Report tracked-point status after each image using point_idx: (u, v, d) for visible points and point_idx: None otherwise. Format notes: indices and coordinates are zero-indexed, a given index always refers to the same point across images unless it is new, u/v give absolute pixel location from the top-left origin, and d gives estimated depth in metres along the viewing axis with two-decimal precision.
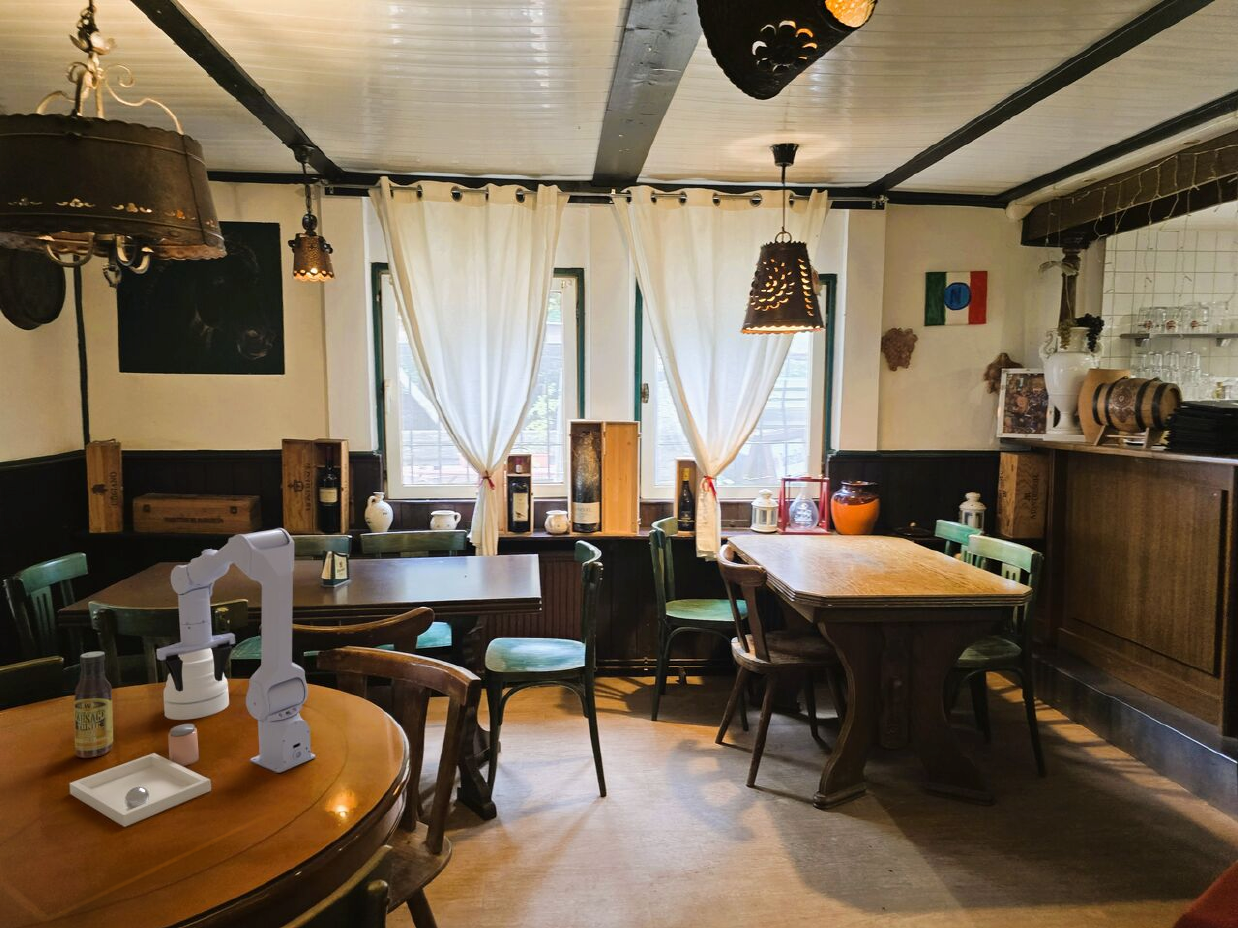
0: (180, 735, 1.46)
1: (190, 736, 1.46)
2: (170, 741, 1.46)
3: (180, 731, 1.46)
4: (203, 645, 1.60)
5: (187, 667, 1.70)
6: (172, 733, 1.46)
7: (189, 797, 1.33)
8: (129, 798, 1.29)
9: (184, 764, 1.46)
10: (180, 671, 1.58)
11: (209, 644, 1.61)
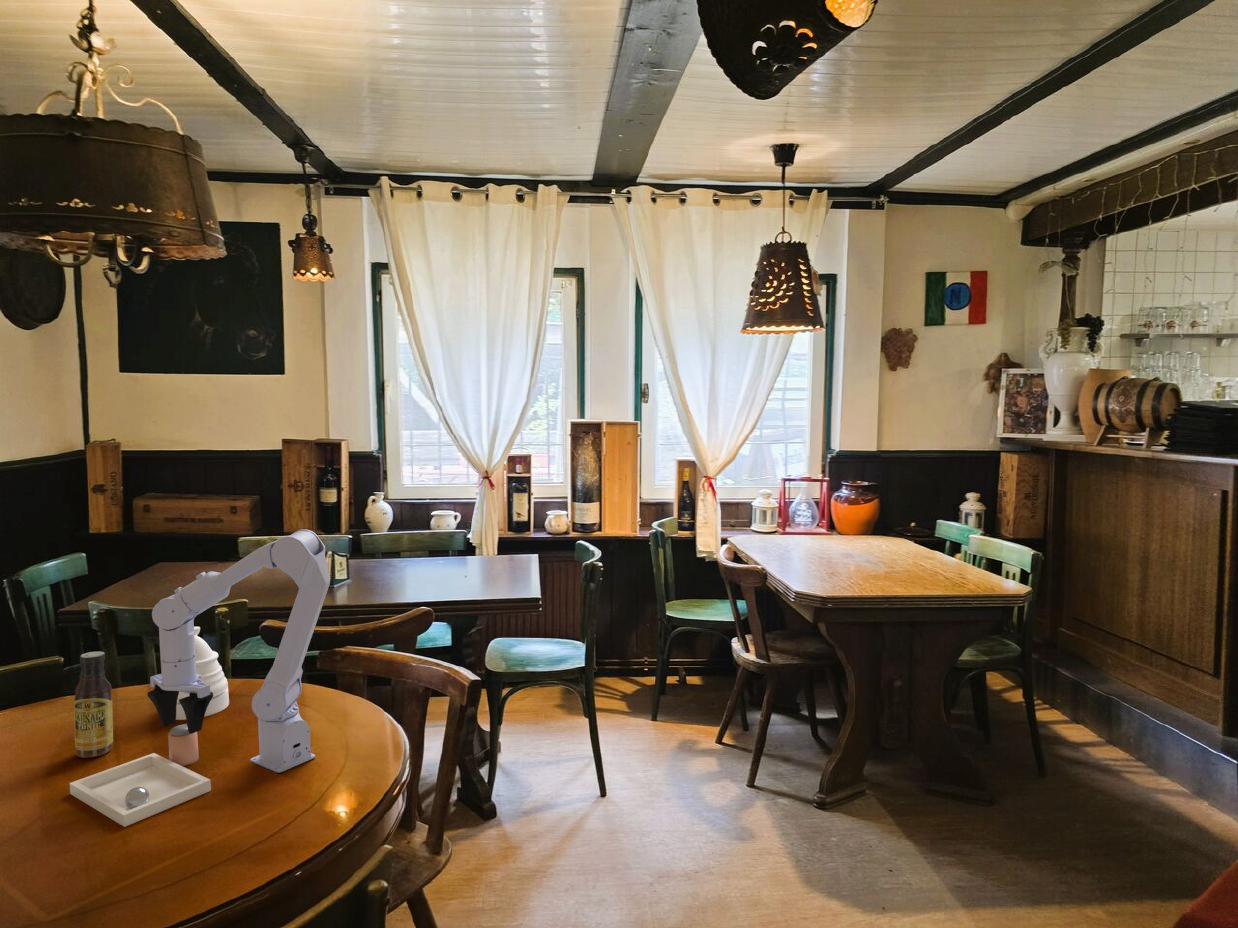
0: (180, 735, 1.46)
1: (190, 736, 1.46)
2: (170, 741, 1.46)
3: (180, 731, 1.46)
4: (164, 687, 1.44)
5: None
6: (172, 733, 1.46)
7: (189, 797, 1.33)
8: (129, 798, 1.29)
9: (184, 764, 1.46)
10: (157, 705, 1.47)
11: (171, 688, 1.44)
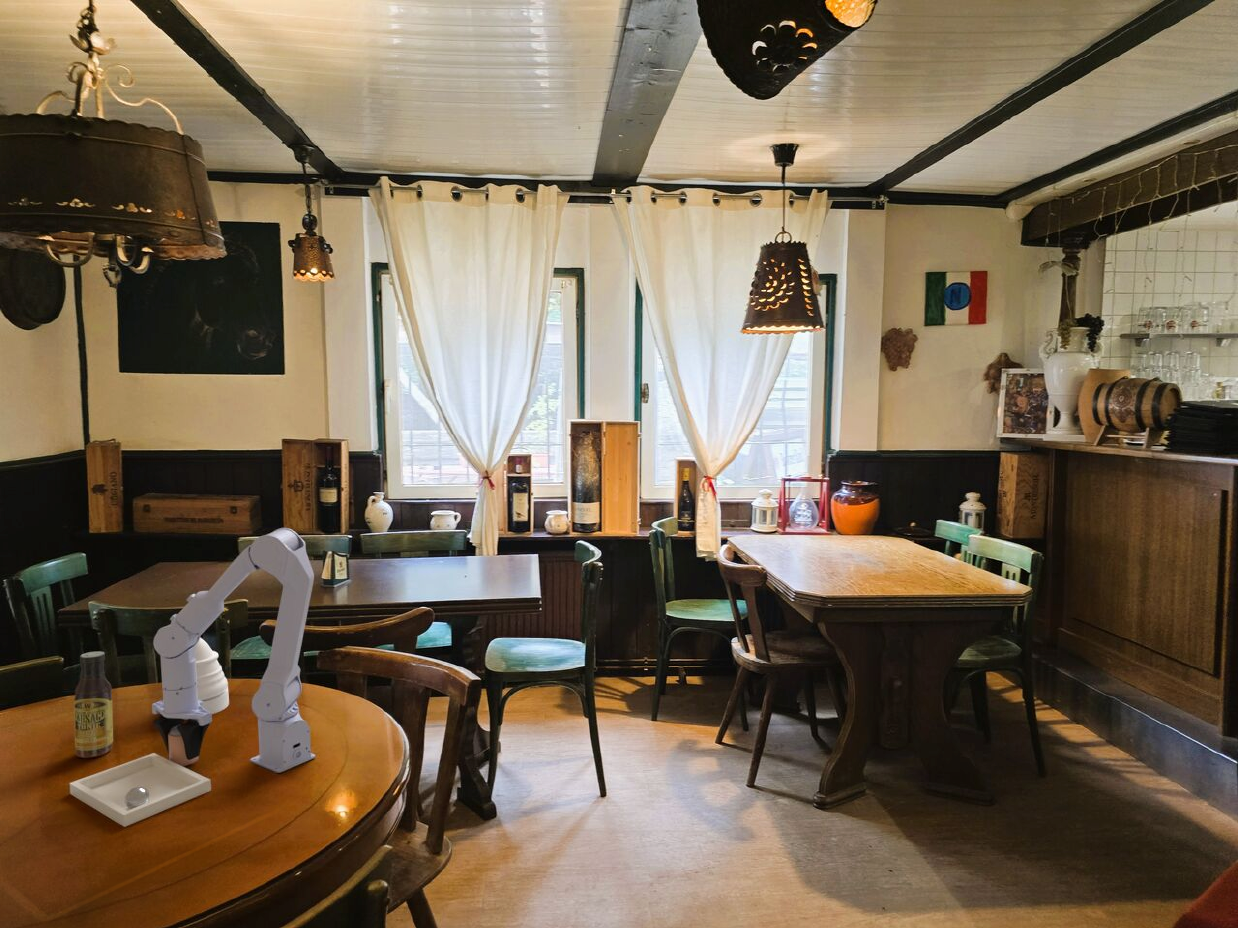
0: (180, 735, 1.46)
1: None
2: (170, 741, 1.46)
3: None
4: (166, 715, 1.44)
5: None
6: (172, 733, 1.46)
7: (189, 797, 1.33)
8: (129, 798, 1.29)
9: (184, 764, 1.46)
10: (163, 733, 1.47)
11: (172, 716, 1.44)
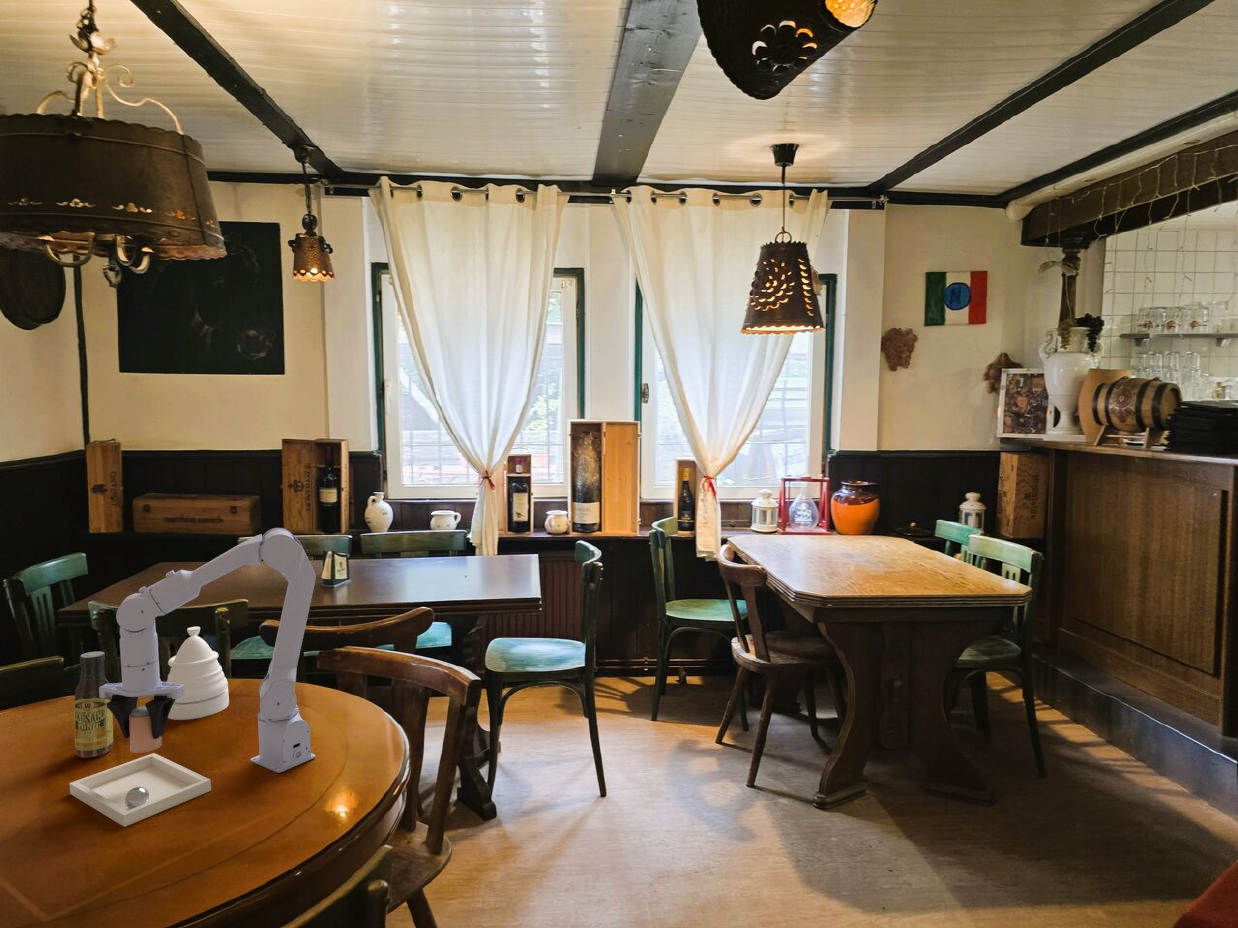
0: (146, 715, 1.38)
1: None
2: (134, 723, 1.37)
3: (145, 711, 1.38)
4: (130, 693, 1.35)
5: (187, 667, 1.70)
6: (136, 714, 1.37)
7: (189, 797, 1.33)
8: (129, 798, 1.29)
9: (151, 746, 1.38)
10: (120, 716, 1.37)
11: (139, 694, 1.36)
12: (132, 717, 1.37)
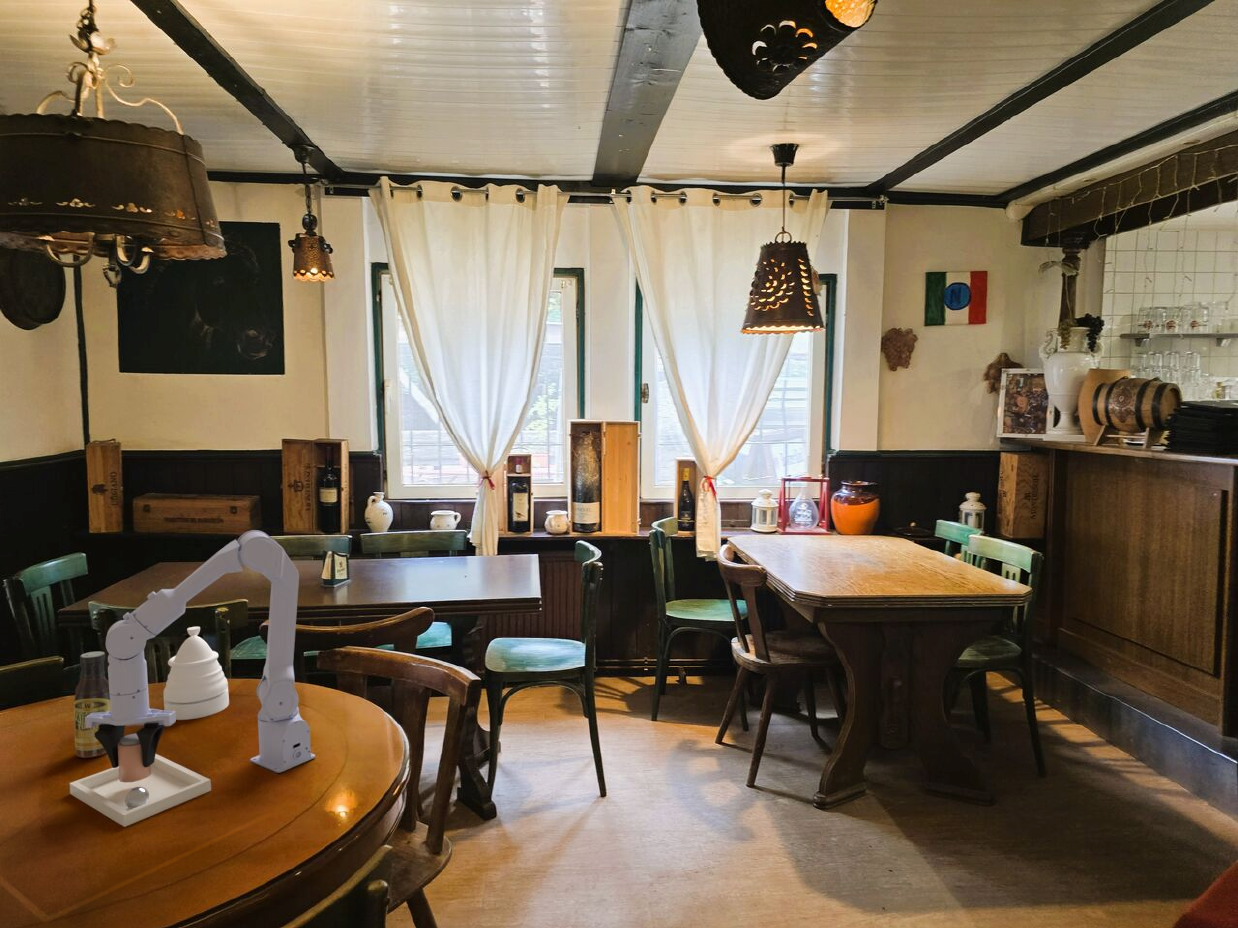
0: (136, 743, 1.35)
1: None
2: (124, 752, 1.35)
3: (135, 739, 1.36)
4: (121, 722, 1.33)
5: (187, 667, 1.70)
6: (126, 743, 1.35)
7: (189, 797, 1.33)
8: (129, 798, 1.29)
9: (141, 774, 1.36)
10: (108, 745, 1.35)
11: (129, 722, 1.33)
12: (121, 746, 1.35)
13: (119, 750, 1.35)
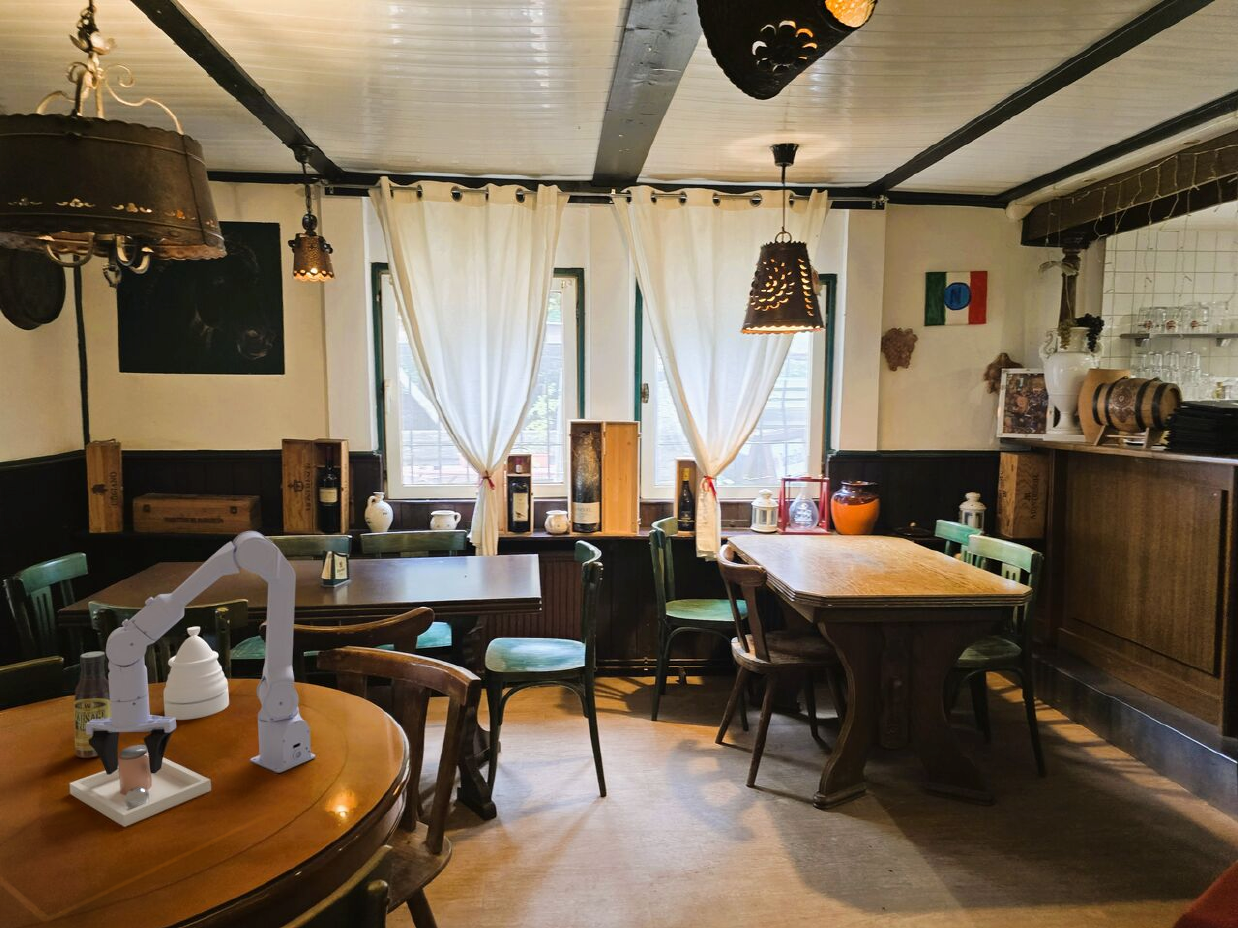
0: (136, 756, 1.35)
1: (147, 756, 1.37)
2: (124, 765, 1.35)
3: (135, 752, 1.36)
4: (121, 729, 1.33)
5: (187, 667, 1.70)
6: (126, 756, 1.35)
7: (189, 797, 1.33)
8: (129, 798, 1.29)
9: None
10: (102, 752, 1.35)
11: (130, 729, 1.34)
12: (121, 759, 1.35)
13: (119, 763, 1.35)
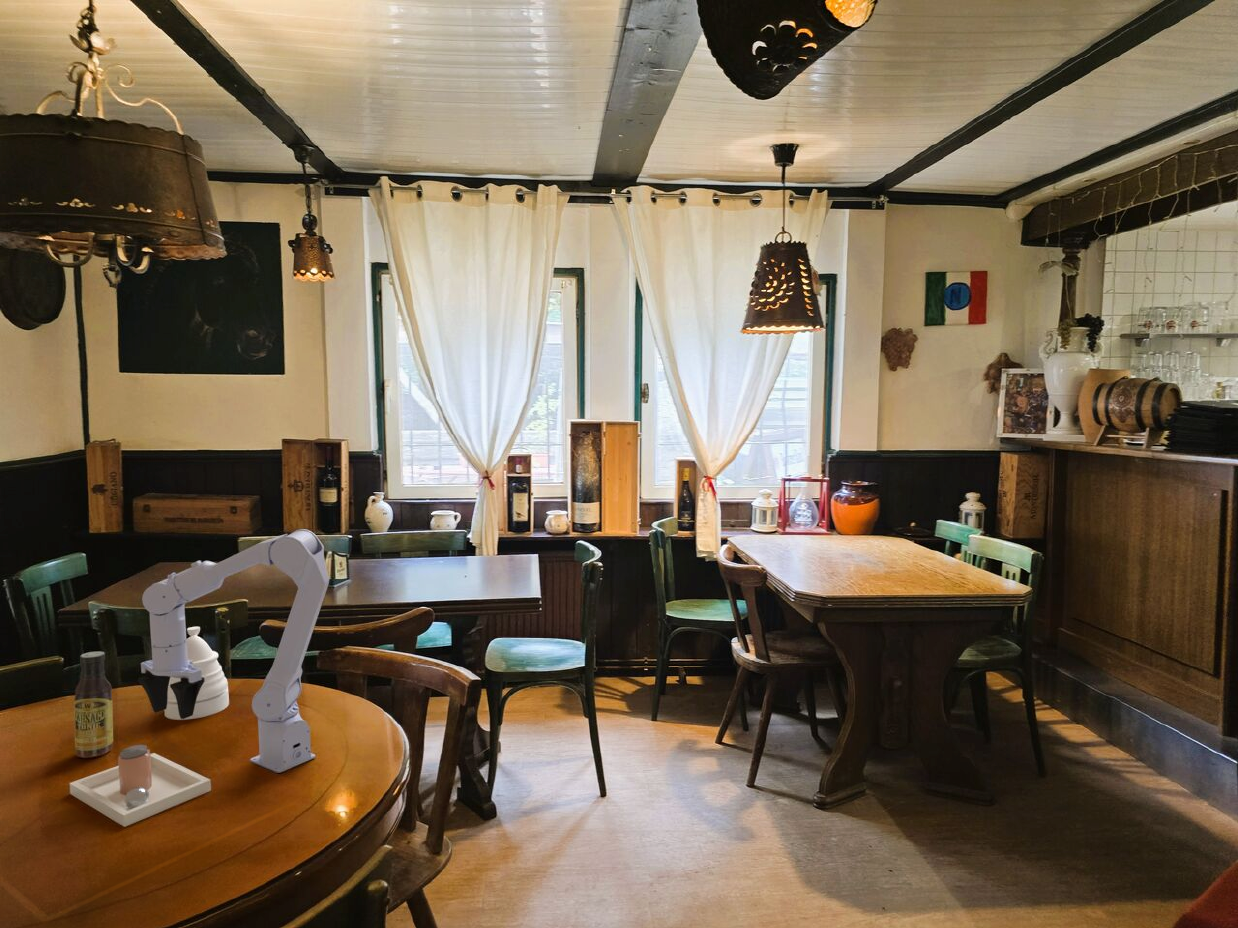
0: (137, 756, 1.35)
1: (147, 756, 1.37)
2: (124, 765, 1.35)
3: (135, 752, 1.36)
4: (155, 672, 1.44)
5: None
6: (126, 756, 1.35)
7: (189, 797, 1.33)
8: (129, 798, 1.29)
9: None
10: (148, 691, 1.47)
11: (162, 674, 1.43)
12: (122, 759, 1.35)
13: (119, 763, 1.35)
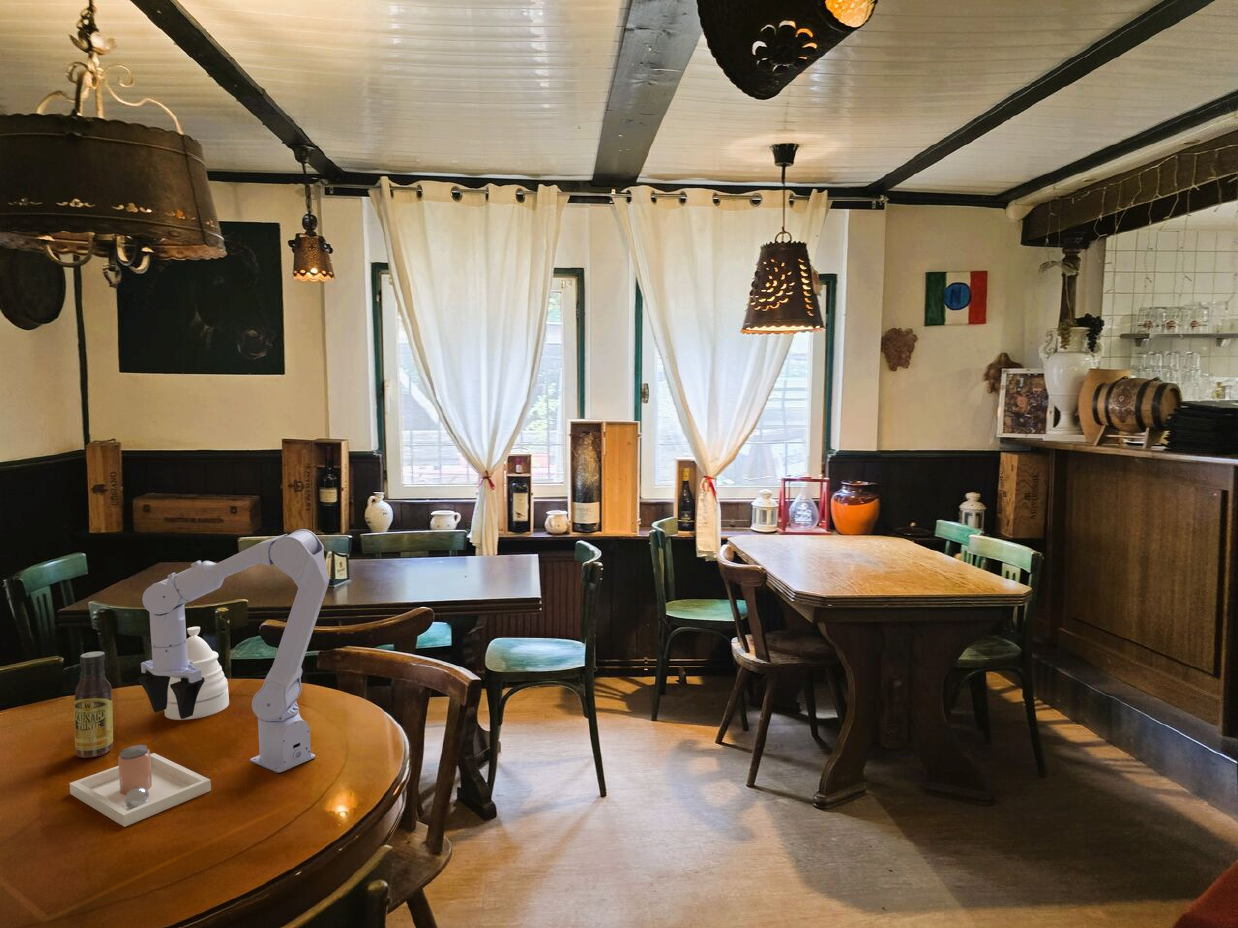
0: (137, 756, 1.35)
1: (147, 756, 1.37)
2: (124, 765, 1.35)
3: (135, 752, 1.36)
4: (155, 672, 1.44)
5: None
6: (126, 756, 1.35)
7: (189, 797, 1.33)
8: (129, 798, 1.29)
9: None
10: (148, 691, 1.47)
11: (162, 673, 1.43)
12: (122, 759, 1.35)
13: (119, 763, 1.35)
